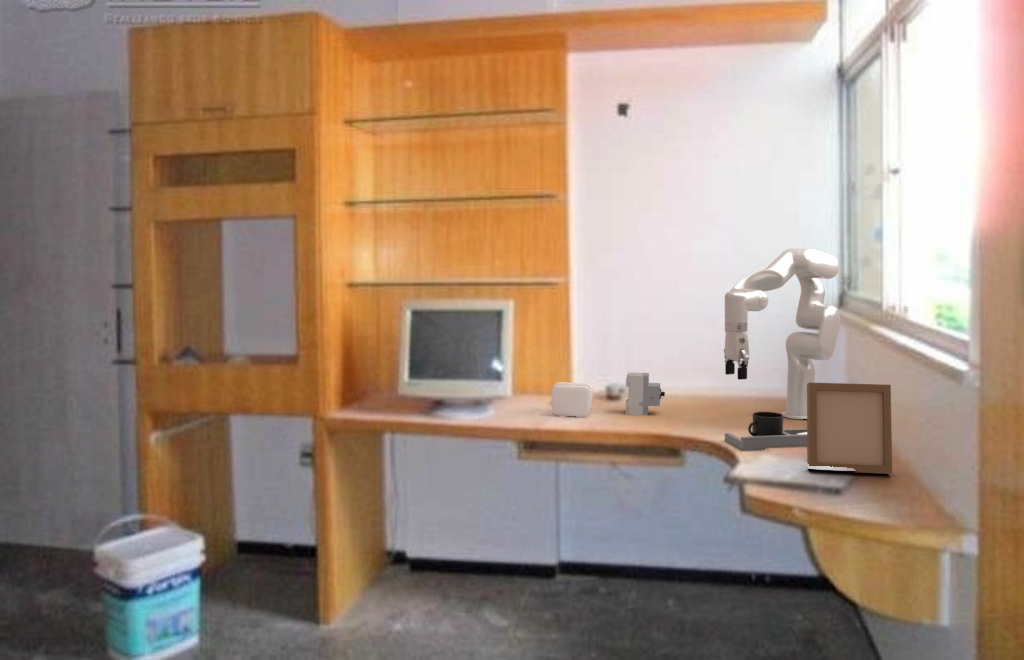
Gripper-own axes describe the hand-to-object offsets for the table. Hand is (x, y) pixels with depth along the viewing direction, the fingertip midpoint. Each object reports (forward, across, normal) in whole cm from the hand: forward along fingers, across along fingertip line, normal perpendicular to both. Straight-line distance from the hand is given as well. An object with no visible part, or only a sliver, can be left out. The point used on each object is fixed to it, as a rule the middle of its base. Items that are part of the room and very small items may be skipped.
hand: (736, 376), depth 293 cm
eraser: (+18, -21, -14) cm, 31 cm away
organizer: (+18, -22, -4) cm, 29 cm away
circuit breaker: (+18, +31, +22) cm, 42 cm away
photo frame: (+18, -54, -8) cm, 58 cm away
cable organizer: (+17, +34, +50) cm, 63 cm away
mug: (+18, -20, 0) cm, 27 cm away
